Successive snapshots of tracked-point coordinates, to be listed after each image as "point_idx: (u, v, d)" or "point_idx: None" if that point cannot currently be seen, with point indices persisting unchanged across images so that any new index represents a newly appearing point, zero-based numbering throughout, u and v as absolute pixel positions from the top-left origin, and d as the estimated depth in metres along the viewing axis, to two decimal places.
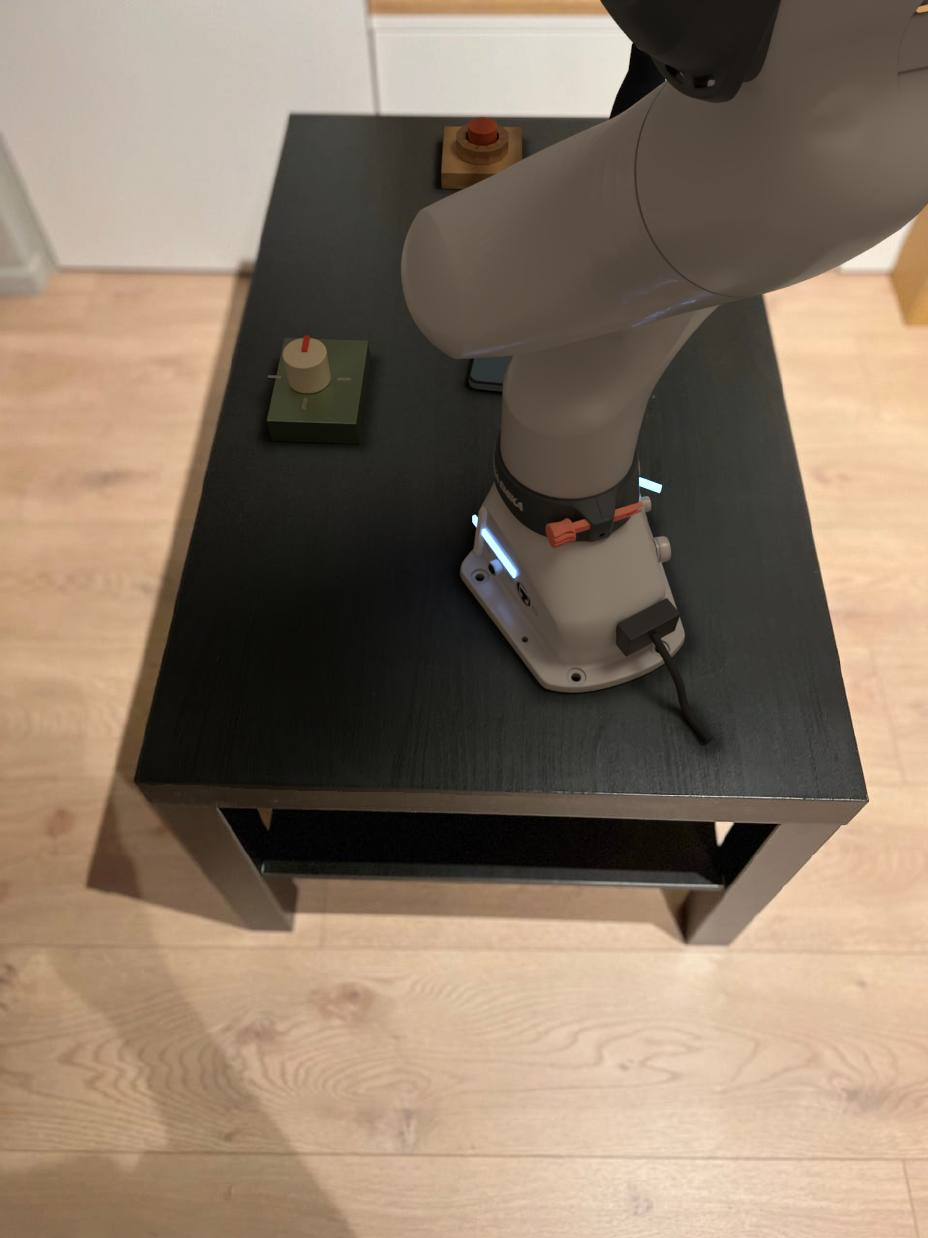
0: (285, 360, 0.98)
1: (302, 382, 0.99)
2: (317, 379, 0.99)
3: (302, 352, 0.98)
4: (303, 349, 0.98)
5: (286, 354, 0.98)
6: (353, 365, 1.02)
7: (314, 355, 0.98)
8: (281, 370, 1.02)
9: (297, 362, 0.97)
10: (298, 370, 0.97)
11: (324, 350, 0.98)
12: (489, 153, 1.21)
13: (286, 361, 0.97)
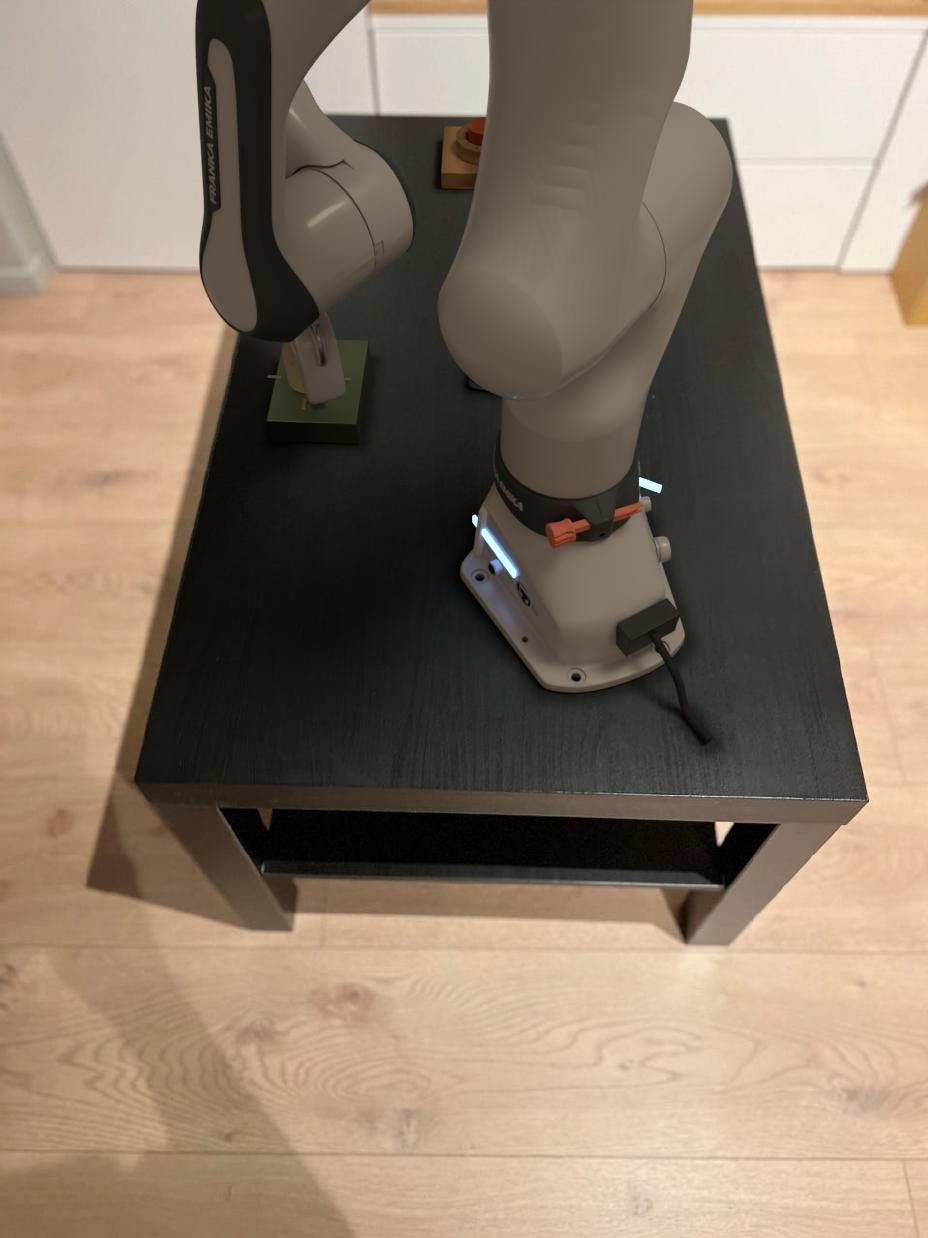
0: (285, 360, 0.98)
1: None
2: None
3: None
4: None
5: (286, 354, 0.98)
6: (353, 365, 1.02)
7: None
8: (281, 370, 1.02)
9: None
10: None
11: None
12: None
13: (286, 361, 0.97)
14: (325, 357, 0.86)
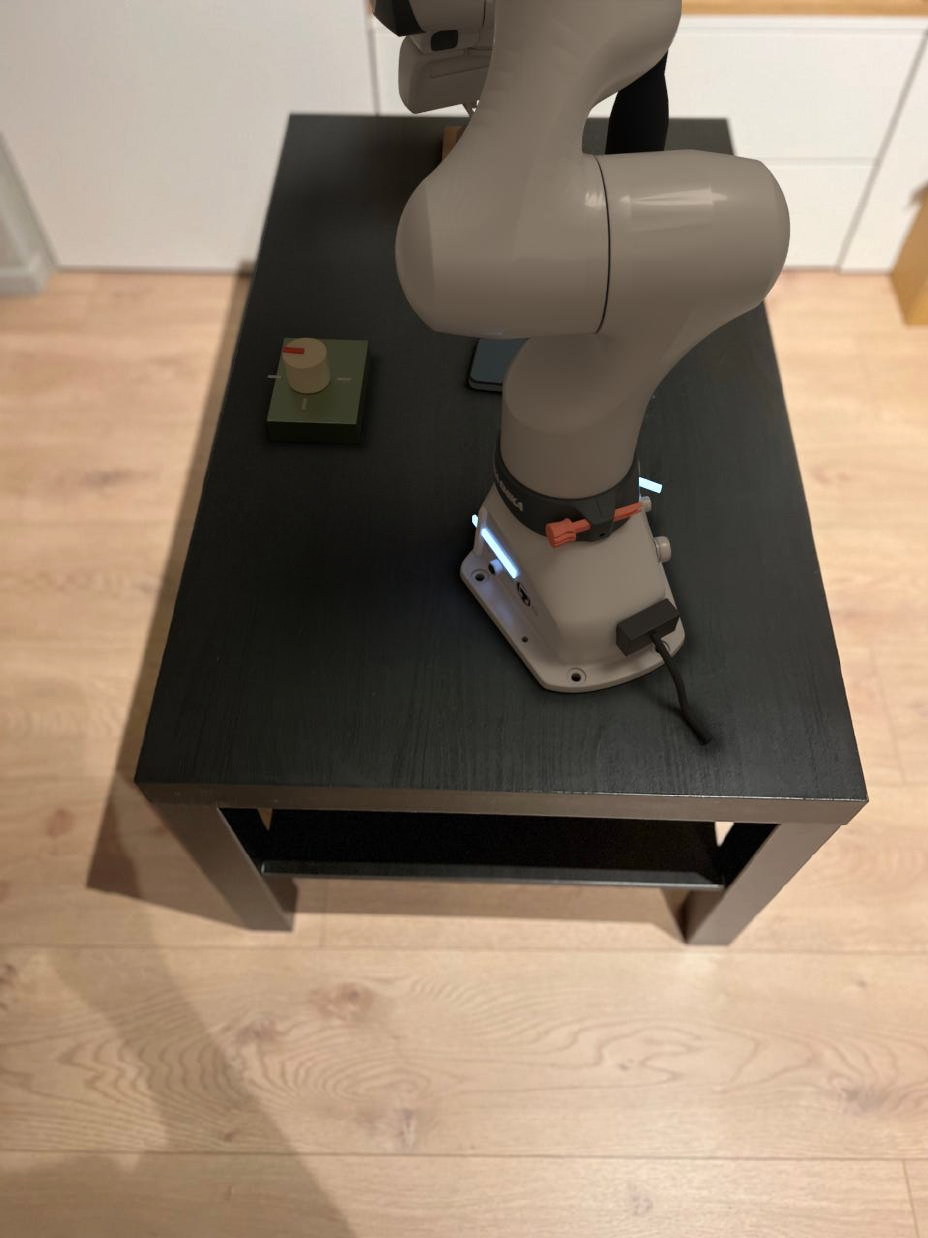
0: (312, 366, 0.97)
1: (327, 369, 0.99)
2: None
3: (304, 353, 0.98)
4: (302, 350, 0.98)
5: (304, 365, 0.97)
6: (353, 365, 1.02)
7: (310, 345, 0.99)
8: (281, 370, 1.02)
9: (317, 357, 0.98)
10: (325, 360, 0.98)
11: (305, 338, 0.99)
12: None
13: (314, 365, 0.97)
14: None
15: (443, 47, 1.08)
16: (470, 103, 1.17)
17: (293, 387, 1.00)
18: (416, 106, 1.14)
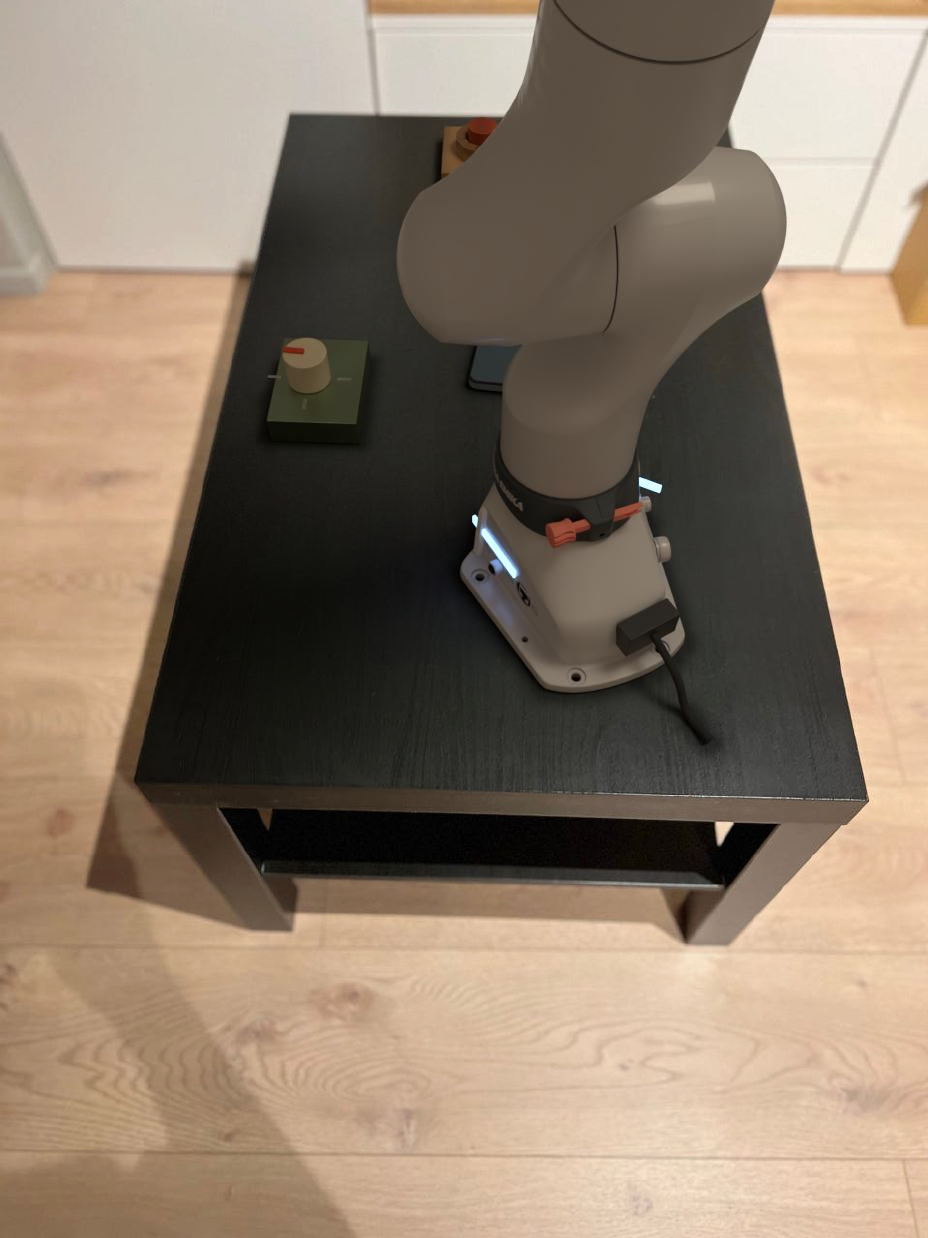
0: (312, 366, 0.97)
1: (327, 369, 0.99)
2: None
3: (304, 353, 0.98)
4: (302, 350, 0.98)
5: (304, 365, 0.97)
6: (353, 365, 1.02)
7: (310, 345, 0.99)
8: (281, 370, 1.02)
9: (317, 357, 0.98)
10: (325, 360, 0.98)
11: (305, 338, 0.99)
12: None
13: (314, 365, 0.97)
14: None
15: None
16: None
17: (293, 387, 1.00)
18: None
